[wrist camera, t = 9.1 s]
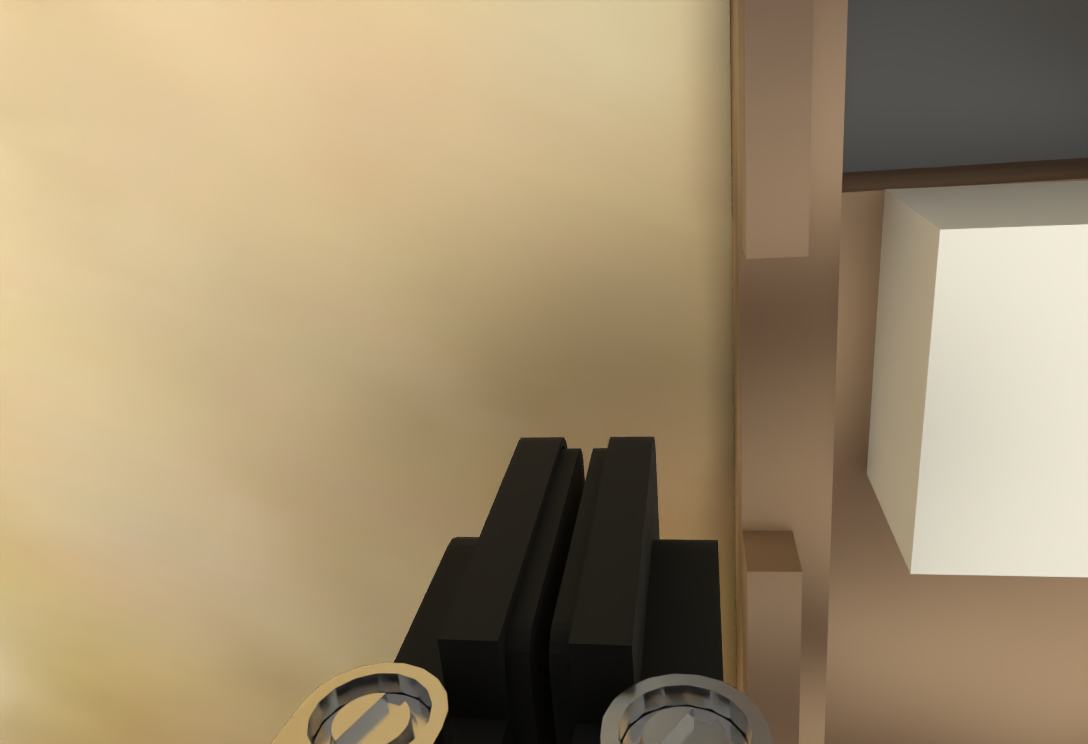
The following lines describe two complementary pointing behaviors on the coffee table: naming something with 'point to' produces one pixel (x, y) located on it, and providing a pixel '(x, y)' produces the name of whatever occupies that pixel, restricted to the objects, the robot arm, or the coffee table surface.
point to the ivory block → (983, 379)
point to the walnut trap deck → (848, 359)
